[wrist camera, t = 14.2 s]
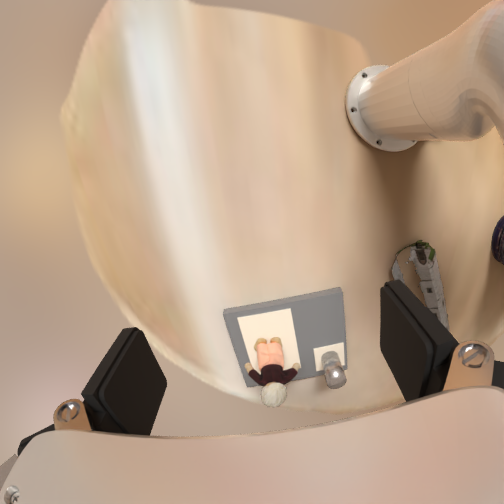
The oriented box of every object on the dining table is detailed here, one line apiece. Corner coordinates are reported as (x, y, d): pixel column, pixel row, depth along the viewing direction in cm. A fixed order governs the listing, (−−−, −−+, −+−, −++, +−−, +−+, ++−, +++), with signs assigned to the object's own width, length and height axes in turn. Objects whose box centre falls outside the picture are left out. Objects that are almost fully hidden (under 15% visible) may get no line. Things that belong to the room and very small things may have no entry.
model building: (398, 237, 43) (428, 339, 50) (385, 263, 39) (418, 366, 46) (438, 232, 37) (459, 340, 44) (430, 259, 33) (451, 369, 41)
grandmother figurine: (250, 357, 46) (247, 416, 34) (244, 339, 44) (240, 398, 32) (297, 348, 45) (306, 407, 33) (293, 330, 44) (303, 388, 32)
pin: (338, 349, 45) (346, 373, 39) (338, 362, 46) (346, 386, 40) (320, 353, 45) (326, 377, 39) (321, 366, 46) (327, 390, 40)
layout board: (340, 287, 43) (342, 292, 41) (345, 363, 48) (347, 370, 46) (224, 309, 45) (222, 315, 43) (247, 381, 50) (246, 388, 48)
